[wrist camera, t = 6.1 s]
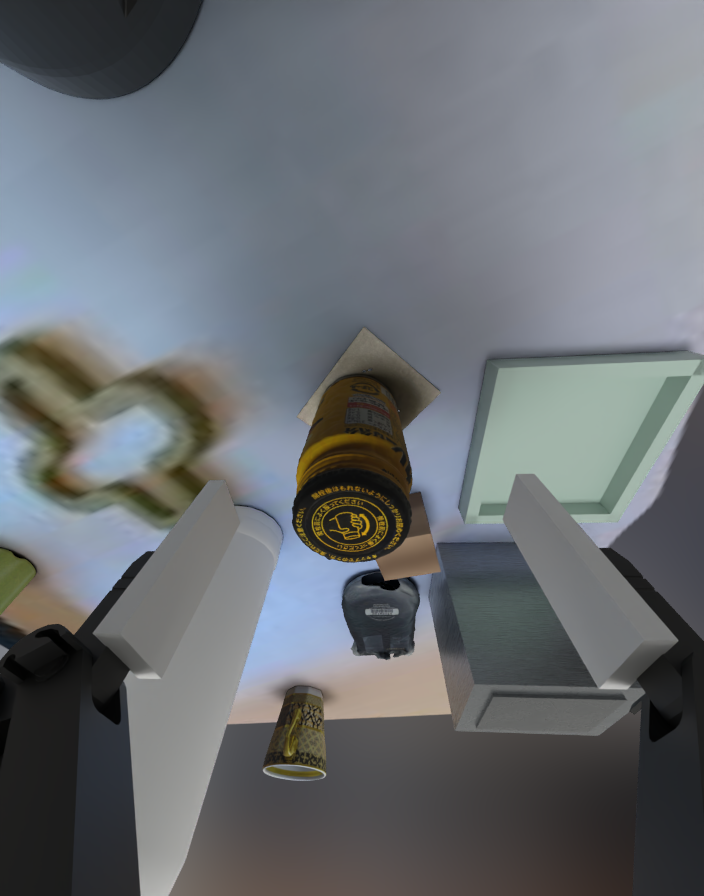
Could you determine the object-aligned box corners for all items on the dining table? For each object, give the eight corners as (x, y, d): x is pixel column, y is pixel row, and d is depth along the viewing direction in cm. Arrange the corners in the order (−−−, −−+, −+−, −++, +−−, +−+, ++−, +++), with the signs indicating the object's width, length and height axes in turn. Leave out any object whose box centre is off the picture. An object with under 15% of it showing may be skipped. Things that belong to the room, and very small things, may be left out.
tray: (487, 359, 20) (498, 368, 18) (687, 351, 19) (719, 358, 17) (458, 508, 27) (464, 523, 25) (601, 506, 26) (617, 522, 25)
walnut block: (368, 502, 27) (369, 545, 23) (420, 491, 26) (430, 533, 22) (381, 536, 30) (384, 580, 26) (429, 527, 29) (440, 571, 25)
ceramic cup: (335, 703, 55) (329, 782, 47) (284, 702, 56) (270, 779, 47) (326, 674, 48) (317, 760, 40) (269, 674, 49) (249, 758, 41)
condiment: (297, 415, 23) (242, 534, 12) (363, 325, 19) (363, 390, 9) (367, 463, 25) (370, 596, 15) (440, 391, 21) (510, 502, 11)
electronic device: (418, 619, 41) (420, 569, 32) (419, 666, 37) (421, 624, 28) (355, 612, 43) (339, 562, 34) (349, 656, 39) (329, 613, 29)
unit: (437, 543, 30) (475, 687, 19) (555, 542, 29) (661, 692, 19) (428, 599, 35) (454, 735, 25) (528, 599, 35) (598, 740, 24)
